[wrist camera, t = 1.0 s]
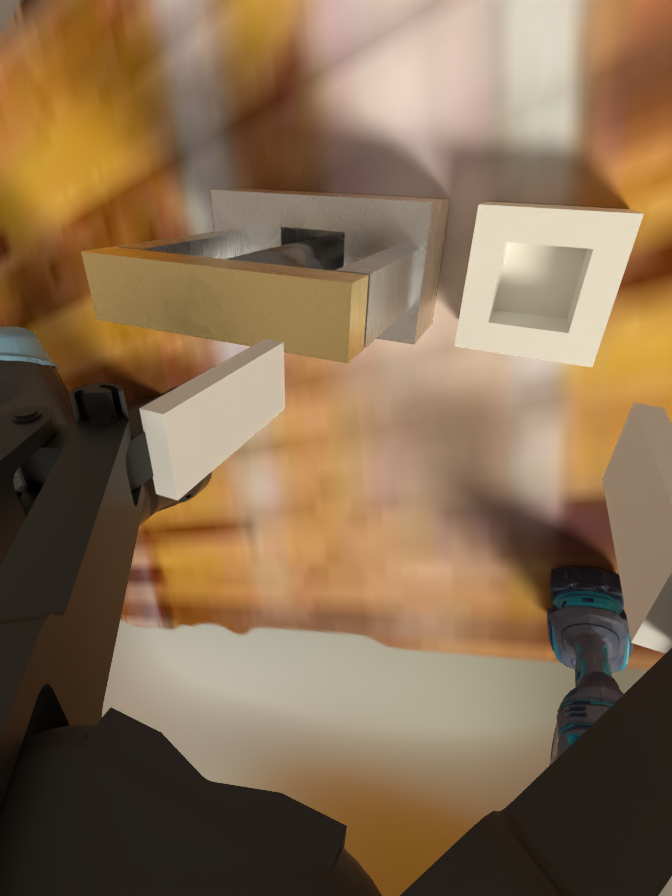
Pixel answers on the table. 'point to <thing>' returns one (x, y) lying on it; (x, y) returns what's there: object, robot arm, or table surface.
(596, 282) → the cream square block
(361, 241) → the grey post stand
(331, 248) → the smooth metal cylinder
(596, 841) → the robot arm
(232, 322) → the rectangular wooden block
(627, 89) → the table surface
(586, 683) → the impact wrench
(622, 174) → the table surface
